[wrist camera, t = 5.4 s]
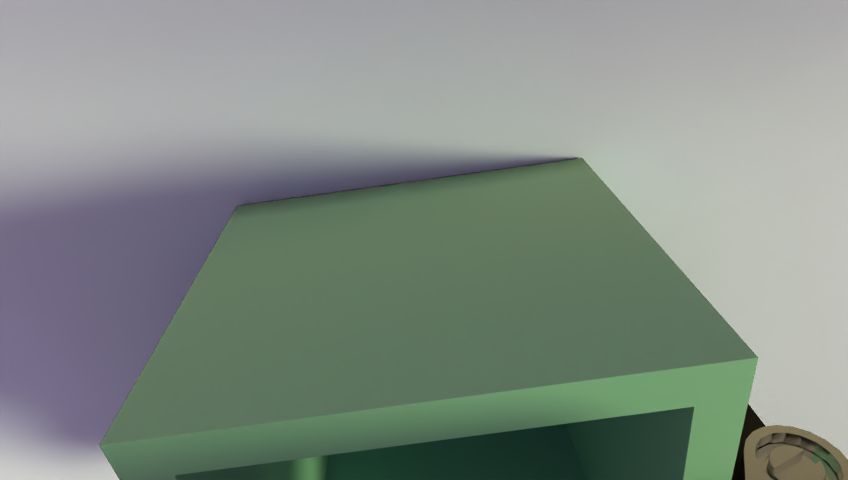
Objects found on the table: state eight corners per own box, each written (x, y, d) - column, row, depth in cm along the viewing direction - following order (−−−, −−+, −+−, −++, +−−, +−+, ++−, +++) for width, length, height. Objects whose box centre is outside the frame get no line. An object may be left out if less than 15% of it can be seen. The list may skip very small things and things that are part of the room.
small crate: (237, 205, 11) (99, 445, 6) (581, 158, 11) (758, 357, 6) (314, 444, 14) (270, 732, 9) (578, 409, 14) (687, 680, 9)
